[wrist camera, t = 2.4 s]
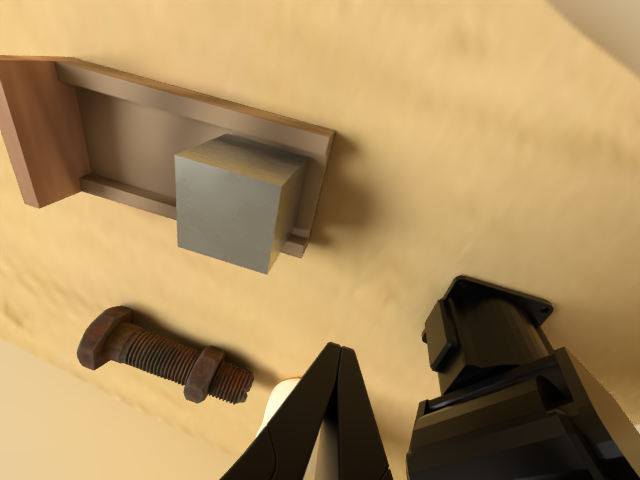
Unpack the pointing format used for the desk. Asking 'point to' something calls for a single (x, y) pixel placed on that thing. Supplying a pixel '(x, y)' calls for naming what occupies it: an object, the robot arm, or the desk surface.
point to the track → (131, 136)
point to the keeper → (237, 200)
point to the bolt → (162, 358)
